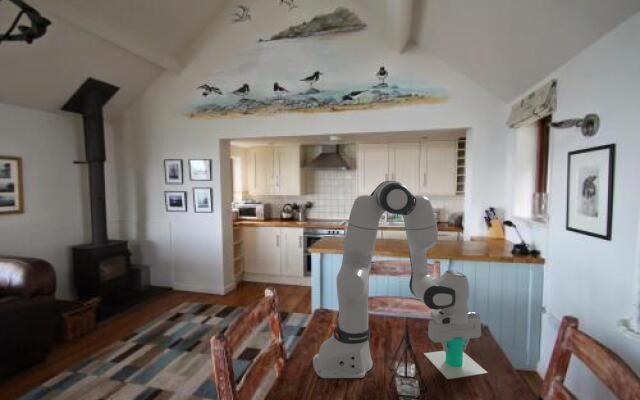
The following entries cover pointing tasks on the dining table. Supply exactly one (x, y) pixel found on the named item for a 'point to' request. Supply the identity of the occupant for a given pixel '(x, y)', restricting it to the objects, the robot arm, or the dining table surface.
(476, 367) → the tile
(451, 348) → the candle
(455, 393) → the dining table surface
